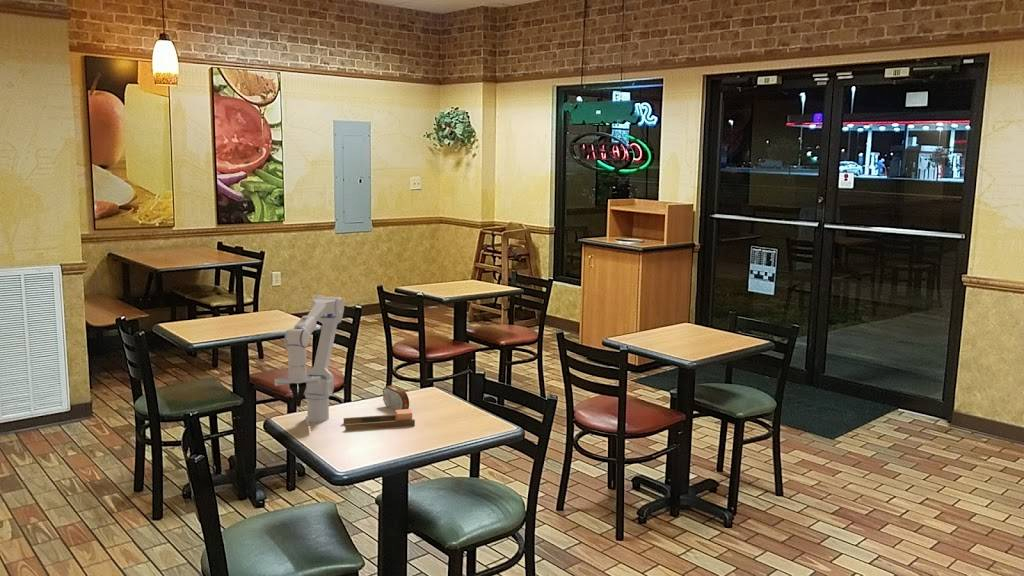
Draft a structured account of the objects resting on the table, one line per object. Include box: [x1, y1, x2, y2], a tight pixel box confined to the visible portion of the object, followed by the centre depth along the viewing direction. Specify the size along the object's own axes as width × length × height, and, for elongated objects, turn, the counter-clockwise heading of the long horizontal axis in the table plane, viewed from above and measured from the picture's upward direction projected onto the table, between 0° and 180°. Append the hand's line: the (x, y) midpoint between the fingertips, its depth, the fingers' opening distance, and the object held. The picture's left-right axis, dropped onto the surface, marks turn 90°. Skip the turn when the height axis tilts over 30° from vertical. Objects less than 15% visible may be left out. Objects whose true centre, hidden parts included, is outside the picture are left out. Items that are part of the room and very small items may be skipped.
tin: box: [382, 384, 410, 410], centre depth 297 cm, size 15×3×8 cm, turn 39°
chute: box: [343, 414, 416, 432], centre depth 277 cm, size 8×23×3 cm, turn 107°
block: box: [394, 408, 413, 421], centre depth 279 cm, size 5×5×4 cm
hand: (298, 405), depth 266 cm, fingers closed
